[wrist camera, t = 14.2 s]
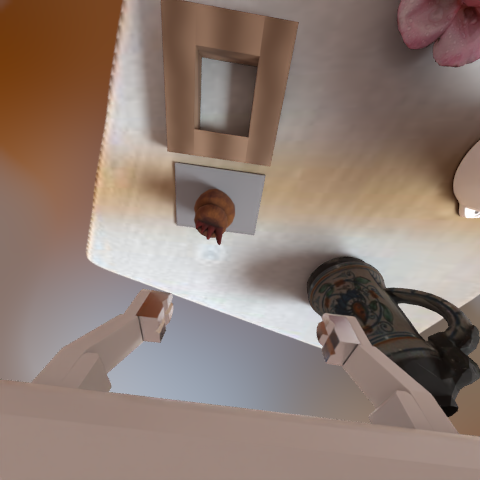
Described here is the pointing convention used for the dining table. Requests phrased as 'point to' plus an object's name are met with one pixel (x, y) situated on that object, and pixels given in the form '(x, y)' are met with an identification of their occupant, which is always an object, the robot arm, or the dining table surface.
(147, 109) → the dining table surface
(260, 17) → the walnut socket block
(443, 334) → the beer stein
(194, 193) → the slate mat
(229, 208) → the wooden figurine
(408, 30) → the flower
